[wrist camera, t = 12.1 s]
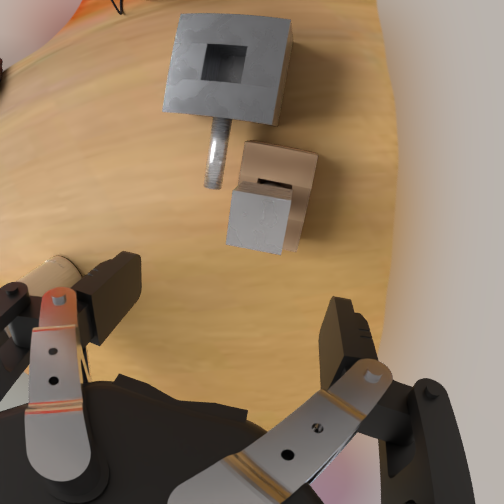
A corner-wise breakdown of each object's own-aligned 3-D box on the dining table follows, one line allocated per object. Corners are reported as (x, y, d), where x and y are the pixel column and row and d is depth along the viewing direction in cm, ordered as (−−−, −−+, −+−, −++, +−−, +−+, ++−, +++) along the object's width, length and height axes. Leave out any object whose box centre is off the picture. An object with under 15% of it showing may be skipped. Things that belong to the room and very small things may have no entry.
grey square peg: (293, 175, 31) (291, 200, 20) (287, 211, 33) (280, 254, 22) (256, 169, 31) (232, 190, 20) (250, 205, 33) (225, 244, 22)
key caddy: (297, 238, 35) (296, 252, 31) (237, 226, 35) (229, 238, 32) (316, 152, 31) (318, 155, 27) (251, 140, 31) (245, 141, 27)
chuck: (266, 188, 33) (257, 203, 27) (181, 173, 34) (154, 184, 27) (293, 41, 26) (290, 19, 20) (203, 33, 27) (180, 13, 20)
